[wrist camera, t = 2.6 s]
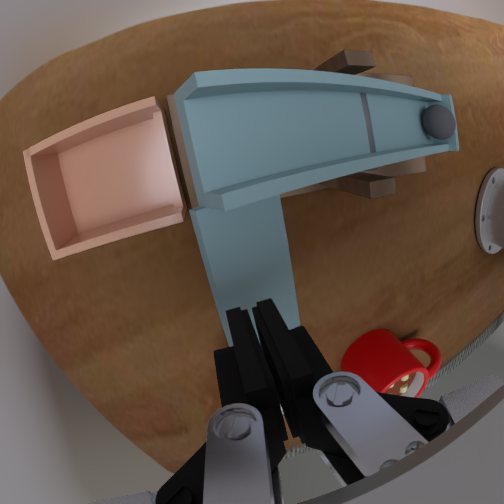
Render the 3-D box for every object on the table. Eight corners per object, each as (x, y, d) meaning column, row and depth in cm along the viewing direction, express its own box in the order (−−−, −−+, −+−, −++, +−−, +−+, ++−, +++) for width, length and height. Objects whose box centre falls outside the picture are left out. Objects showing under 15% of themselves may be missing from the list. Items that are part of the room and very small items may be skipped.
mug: (415, 349, 33) (447, 382, 26) (342, 386, 32) (368, 429, 25) (420, 305, 30) (460, 338, 23) (338, 344, 30) (371, 391, 22)
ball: (433, 106, 18) (458, 104, 15) (438, 138, 19) (463, 140, 17) (412, 104, 18) (439, 102, 15) (418, 140, 19) (445, 140, 16)
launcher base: (407, 77, 21) (467, 65, 13) (422, 170, 24) (483, 182, 17) (167, 97, 19) (149, 65, 11) (194, 217, 22) (191, 250, 14)
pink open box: (164, 109, 19) (154, 96, 14) (187, 207, 22) (183, 221, 17) (54, 150, 18) (22, 151, 13) (78, 240, 21) (52, 260, 16)
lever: (417, 92, 19) (450, 89, 16) (430, 225, 24) (460, 232, 21) (159, 85, 10) (185, 51, 7) (229, 349, 14) (265, 387, 11)
